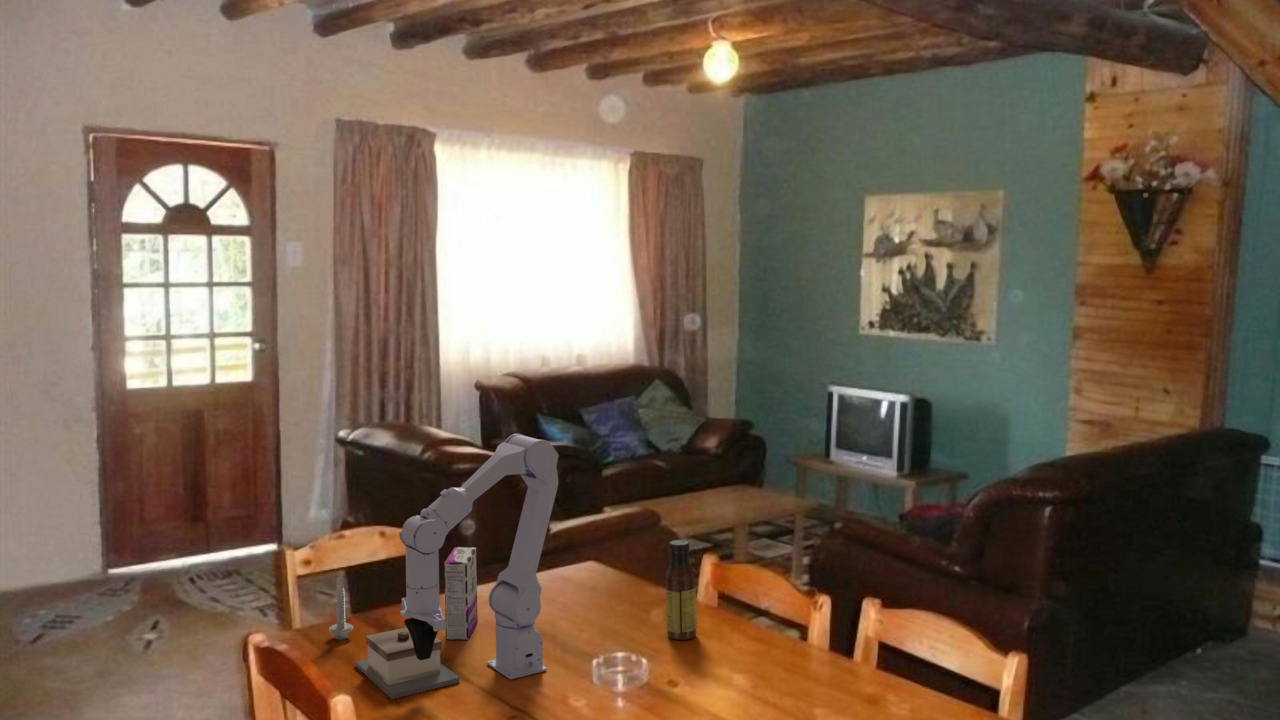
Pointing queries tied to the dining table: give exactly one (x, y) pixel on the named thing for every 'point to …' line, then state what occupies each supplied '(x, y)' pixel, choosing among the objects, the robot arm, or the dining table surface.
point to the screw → (340, 614)
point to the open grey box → (403, 667)
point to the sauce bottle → (680, 593)
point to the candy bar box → (460, 593)
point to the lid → (395, 644)
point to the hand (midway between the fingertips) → (423, 658)
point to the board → (410, 681)
